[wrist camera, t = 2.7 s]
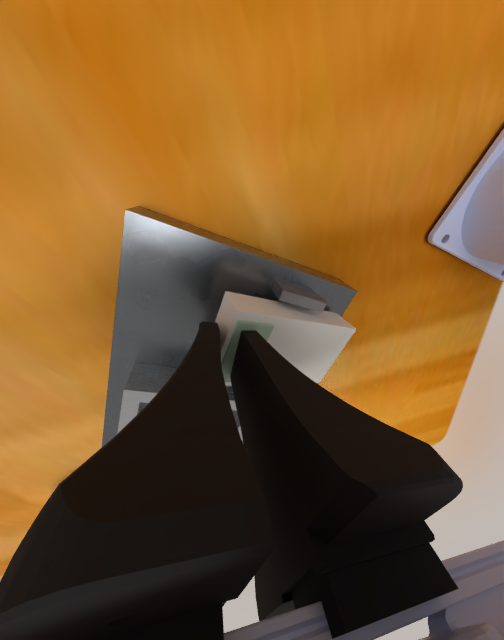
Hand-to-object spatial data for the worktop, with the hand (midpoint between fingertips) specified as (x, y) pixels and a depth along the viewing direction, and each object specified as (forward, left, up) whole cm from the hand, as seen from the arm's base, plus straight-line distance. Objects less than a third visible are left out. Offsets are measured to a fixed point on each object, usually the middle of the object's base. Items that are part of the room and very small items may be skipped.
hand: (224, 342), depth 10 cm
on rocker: (-3, 0, -1) cm, 3 cm away
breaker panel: (-1, +4, -5) cm, 6 cm away
